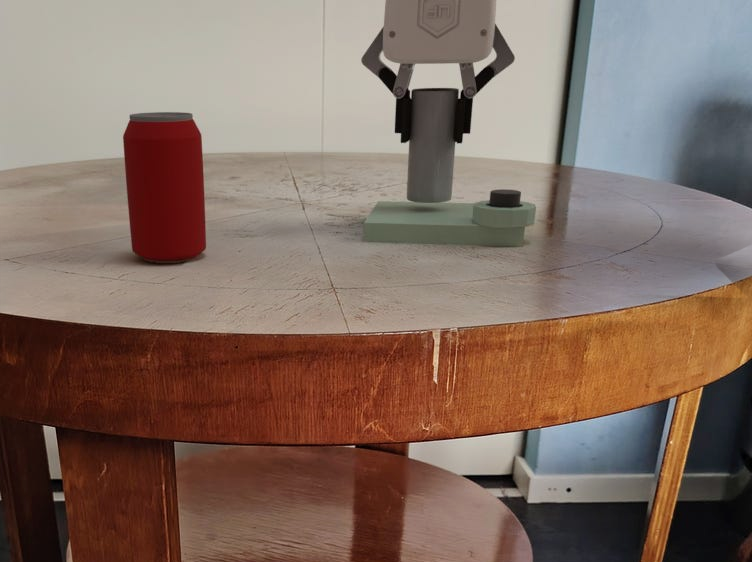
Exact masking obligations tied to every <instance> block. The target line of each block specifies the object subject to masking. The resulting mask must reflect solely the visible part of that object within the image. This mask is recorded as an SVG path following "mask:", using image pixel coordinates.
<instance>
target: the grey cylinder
mask: <svg viewBox="0 0 752 562" xmlns="http://www.w3.org/2000/svg"><path fill="white" fill-rule="evenodd" d="M459 93H460V89H459V88H456V87H420V88H413V89H411V92H410V99H411V115H410V135H409V141H408V156H407V157H408V159H407V177H406V178H407V181H406V200H407V201H408V202H421V203H447V202H449V201H451V200H452V195H453V182H454V181H453V180H454V169H455V167H454V166H455V154H456V152H455V151H456V142H455V130H456V116H457V103H458V98H459V97H460V95H459Z"/></svg>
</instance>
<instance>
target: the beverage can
mask: <svg viewBox="0 0 752 562" xmlns="http://www.w3.org/2000/svg"><path fill="white" fill-rule="evenodd" d="M202 137H203V136H202V133H201V131H200V129H199V127H198V125H197V123H196V121H195V120H194V116H193V113H191V112H179V111H177V112H176V111H158V112H156V111H155V112H138V113H132V114H129V121H128V122H127V125H126V128H125V130H124V132H123V135H122V140H123V141H122V143H123V156H124V171H125V172H124V173H125V183H126V196H127V197H126V198H127V208H128V218H129V219H128V220H129V231H130V240H131V241H130V242H131V250H132V252H133V253H134V254H135V255H137V256H138V257H140V258H141V259H142V260H143V261H145V260H146V261H145V262H148V261H149V262H148V263H153V262H155V263H154V264H178V263H180V264H181V263H187V262H188V261H192V260H195V259H197V257H198V256H199V255H201V254H202V253H203V252H204V251H206V249H207V230H206V228H207V227H206V205H205V203H206V201H205V179H204V178H205V177H204V155H203V138H202Z"/></svg>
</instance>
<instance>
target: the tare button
mask: <svg viewBox="0 0 752 562" xmlns="http://www.w3.org/2000/svg"><path fill="white" fill-rule="evenodd" d="M521 197H522V192H521V190H517V189H492V190H490V191H489V200H490V201H489V206H490V207H499V208H515V207H520V201H521Z"/></svg>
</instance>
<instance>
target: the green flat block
mask: <svg viewBox="0 0 752 562" xmlns="http://www.w3.org/2000/svg"><path fill="white" fill-rule="evenodd" d="M489 201H490V199H489V200H480V201H475V202H438V203H421V202H413V201H391V200H390V201H388V200H385V201H383V200H379V201H377V202H376V204H375V206H373V208H372V210H371V211H370V213H369V214H368V216H367V217H366V219H365V220H364V222H363V228H362V230H363V231H362V232H363V233H362V242H363V243H388V244H390V243H391V244H418V245H419V244H421V245H423V244H424V245H452V246H453V245H456V246H485V247H486V246H489V247H519V248H520V247H524V240H525V239H524V238H525V231H526V228H527V227H529V226H532V225H533V226H534V225H535V219H536V212H537V211H536V209H537V206H536V204H535V203H531V202H529V201H521V200H520V207H515V208H499V207H490V206H489Z"/></svg>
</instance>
